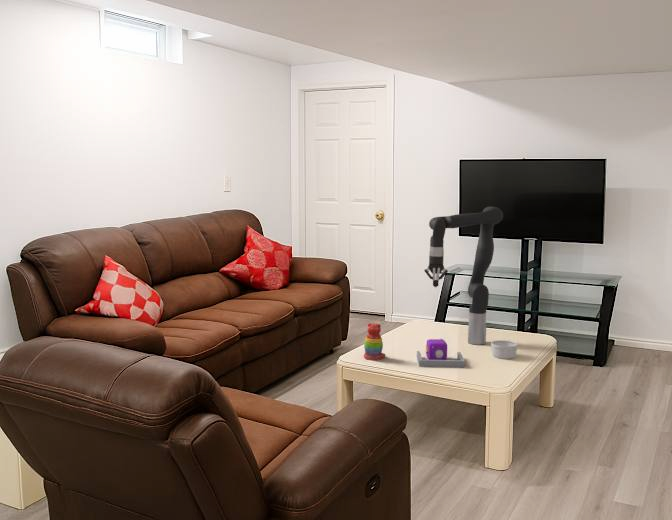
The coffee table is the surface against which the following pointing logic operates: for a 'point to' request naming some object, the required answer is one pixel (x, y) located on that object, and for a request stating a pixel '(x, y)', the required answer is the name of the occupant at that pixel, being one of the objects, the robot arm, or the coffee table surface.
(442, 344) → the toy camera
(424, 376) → the coffee table surface
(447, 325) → the coffee table surface
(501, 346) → the ramekin
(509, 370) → the coffee table surface
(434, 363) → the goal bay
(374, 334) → the stacking bear
